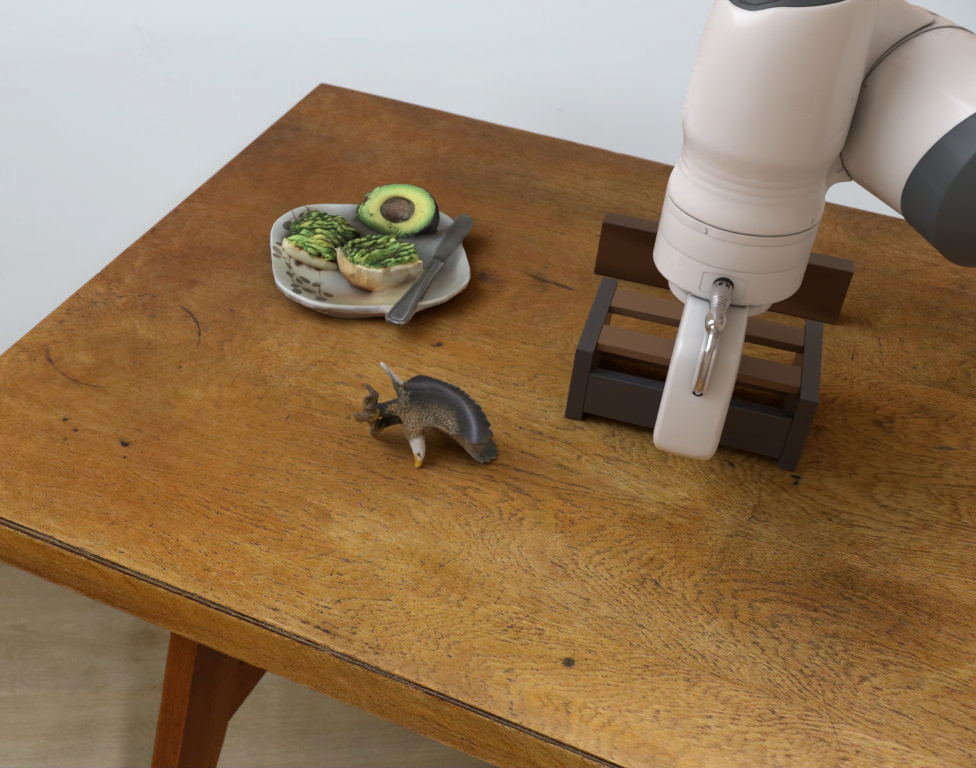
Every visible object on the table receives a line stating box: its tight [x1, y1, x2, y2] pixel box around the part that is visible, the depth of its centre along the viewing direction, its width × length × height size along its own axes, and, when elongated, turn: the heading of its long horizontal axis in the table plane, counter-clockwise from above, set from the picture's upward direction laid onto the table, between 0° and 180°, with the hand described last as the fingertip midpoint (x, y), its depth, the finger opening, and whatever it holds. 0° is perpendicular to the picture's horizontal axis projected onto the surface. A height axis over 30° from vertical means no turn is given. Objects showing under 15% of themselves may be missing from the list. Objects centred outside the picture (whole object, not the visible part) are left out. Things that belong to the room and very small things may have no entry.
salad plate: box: [268, 183, 474, 327], centre depth 91 cm, size 19×18×5 cm
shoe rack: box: [564, 276, 825, 473], centre depth 79 cm, size 10×16×6 cm, turn 71°
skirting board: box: [593, 211, 855, 325], centre depth 92 cm, size 2×20×5 cm, turn 71°
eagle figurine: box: [352, 361, 500, 469], centre depth 74 cm, size 8×7×9 cm
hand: (685, 422), depth 74 cm, fingers closed
